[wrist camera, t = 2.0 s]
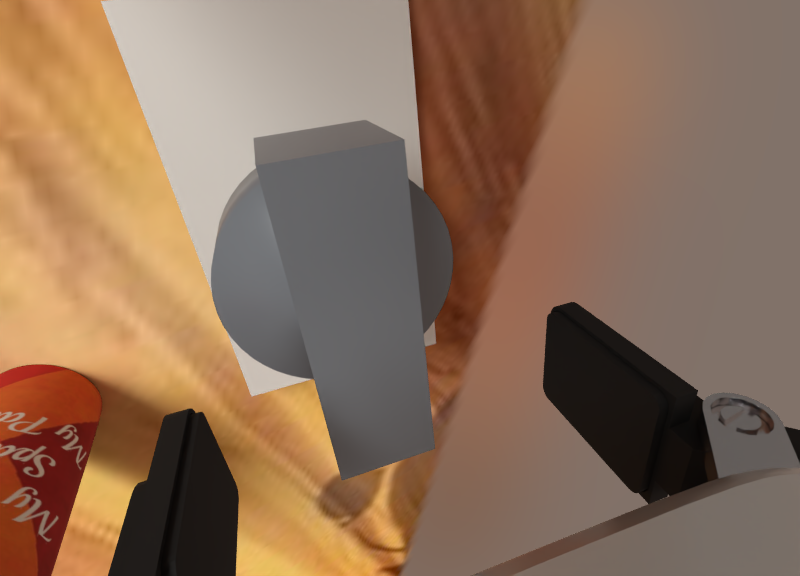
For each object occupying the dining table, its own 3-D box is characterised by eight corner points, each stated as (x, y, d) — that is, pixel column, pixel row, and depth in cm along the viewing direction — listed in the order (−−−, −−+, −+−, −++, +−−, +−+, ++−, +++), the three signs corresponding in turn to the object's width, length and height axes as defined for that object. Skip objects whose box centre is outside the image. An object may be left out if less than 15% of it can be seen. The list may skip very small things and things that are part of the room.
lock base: (114, 6, 18) (61, -15, 12) (392, -19, 20) (441, -46, 15) (251, 376, 28) (252, 447, 22) (425, 327, 30) (461, 381, 25)
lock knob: (171, 137, 15) (121, 189, 9) (415, 99, 17) (507, 121, 11) (261, 388, 21) (267, 520, 15) (435, 339, 23) (501, 438, 17)
